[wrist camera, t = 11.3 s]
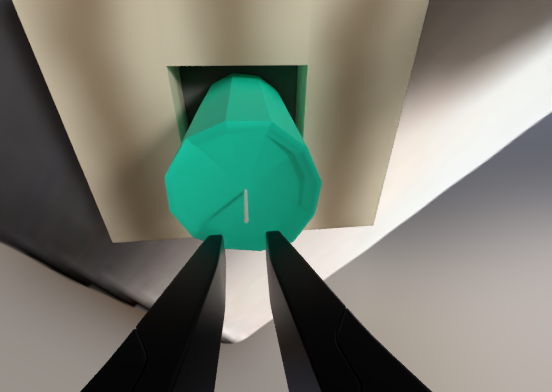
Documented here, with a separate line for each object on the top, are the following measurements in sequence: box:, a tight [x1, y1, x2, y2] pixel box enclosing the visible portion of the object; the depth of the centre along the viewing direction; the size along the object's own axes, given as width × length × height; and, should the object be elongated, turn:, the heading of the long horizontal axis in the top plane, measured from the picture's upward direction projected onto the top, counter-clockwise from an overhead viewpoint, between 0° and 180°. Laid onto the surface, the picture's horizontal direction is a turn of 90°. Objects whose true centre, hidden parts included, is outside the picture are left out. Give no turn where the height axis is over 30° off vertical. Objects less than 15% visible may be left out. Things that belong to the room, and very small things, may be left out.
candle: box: [165, 73, 322, 251], centre depth 14 cm, size 6×6×12 cm
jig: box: [12, 0, 429, 243], centre depth 18 cm, size 20×16×3 cm
